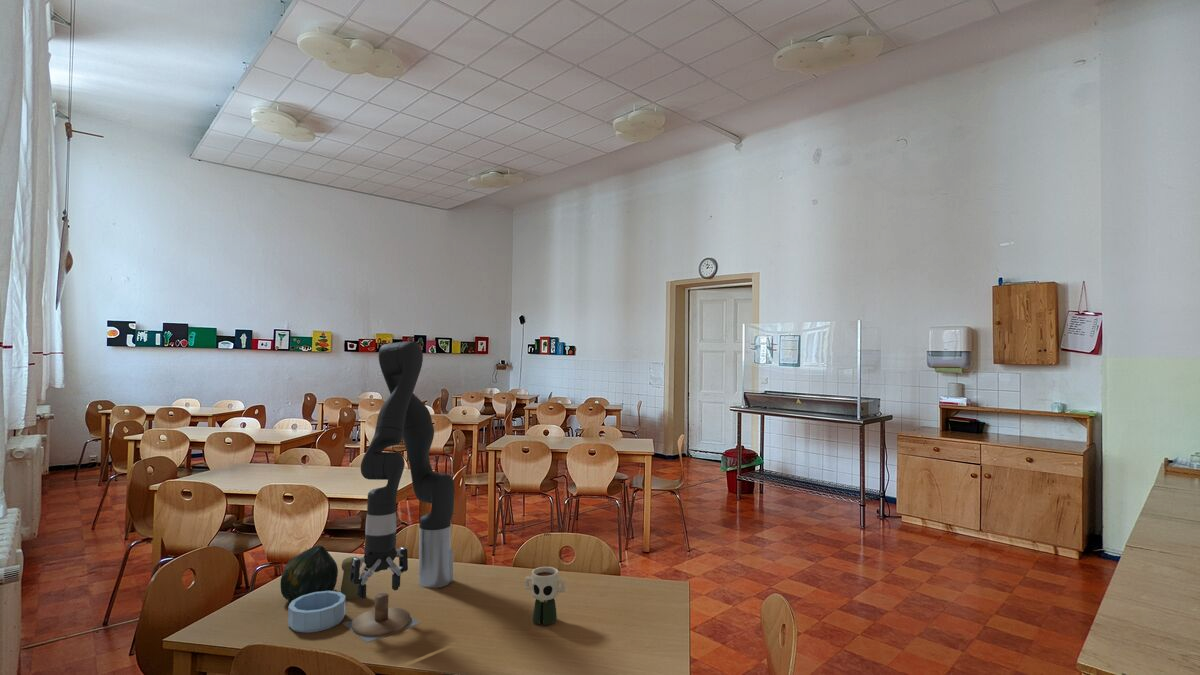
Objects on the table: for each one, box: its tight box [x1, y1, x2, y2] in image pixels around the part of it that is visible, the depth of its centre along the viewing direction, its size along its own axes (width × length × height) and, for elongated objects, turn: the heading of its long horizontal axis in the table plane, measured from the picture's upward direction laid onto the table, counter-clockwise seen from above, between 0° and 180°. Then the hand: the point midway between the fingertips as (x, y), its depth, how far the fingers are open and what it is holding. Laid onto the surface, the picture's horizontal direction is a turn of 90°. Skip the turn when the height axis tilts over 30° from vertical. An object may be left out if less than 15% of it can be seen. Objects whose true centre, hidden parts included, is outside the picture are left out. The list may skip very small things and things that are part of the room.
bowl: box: [287, 590, 347, 634], centre depth 153 cm, size 13×13×6 cm
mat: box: [342, 606, 421, 643], centre depth 152 cm, size 14×14×1 cm
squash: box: [280, 544, 339, 601], centre depth 170 cm, size 14×15×15 cm
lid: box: [352, 592, 411, 636], centre depth 152 cm, size 14×14×7 cm
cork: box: [340, 556, 361, 600], centre depth 169 cm, size 6×6×11 cm
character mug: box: [524, 566, 566, 626], centre depth 155 cm, size 11×7×13 cm, turn 79°
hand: (379, 593), depth 152 cm, fingers open, 8 cm apart
